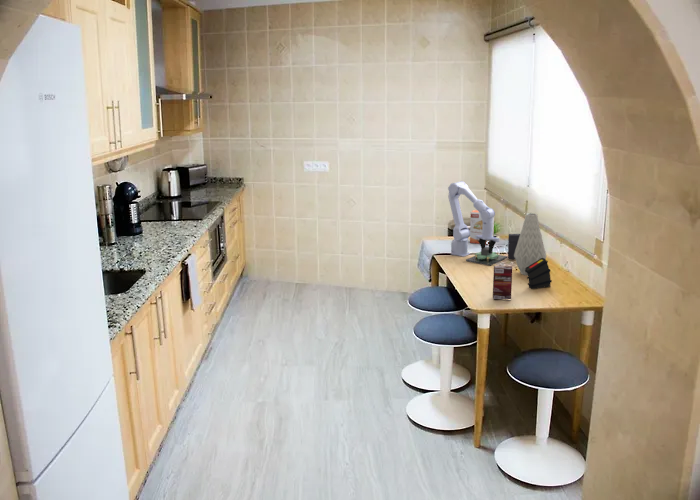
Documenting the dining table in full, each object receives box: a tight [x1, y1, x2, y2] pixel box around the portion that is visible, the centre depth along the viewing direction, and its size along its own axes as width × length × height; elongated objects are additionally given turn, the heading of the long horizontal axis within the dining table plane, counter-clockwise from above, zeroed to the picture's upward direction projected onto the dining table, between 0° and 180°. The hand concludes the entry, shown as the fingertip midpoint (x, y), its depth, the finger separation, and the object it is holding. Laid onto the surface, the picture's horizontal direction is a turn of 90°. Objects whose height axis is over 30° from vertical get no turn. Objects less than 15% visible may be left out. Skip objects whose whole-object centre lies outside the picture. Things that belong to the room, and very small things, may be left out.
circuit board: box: [474, 246, 500, 259], centre depth 361 cm, size 12×15×5 cm
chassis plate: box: [465, 252, 508, 267], centre depth 362 cm, size 16×20×4 cm
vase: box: [514, 212, 547, 277], centre depth 330 cm, size 17×17×33 cm
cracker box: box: [469, 209, 495, 245], centre depth 396 cm, size 14×6×21 cm, turn 62°
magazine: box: [525, 258, 552, 290], centre depth 310 cm, size 4×13×15 cm, turn 105°
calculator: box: [507, 233, 520, 261], centre depth 359 cm, size 11×4×15 cm, turn 84°
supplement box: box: [492, 265, 513, 300], centre depth 296 cm, size 9×5×16 cm, turn 80°
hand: (487, 252), depth 361 cm, fingers closed on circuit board, 4 cm apart
